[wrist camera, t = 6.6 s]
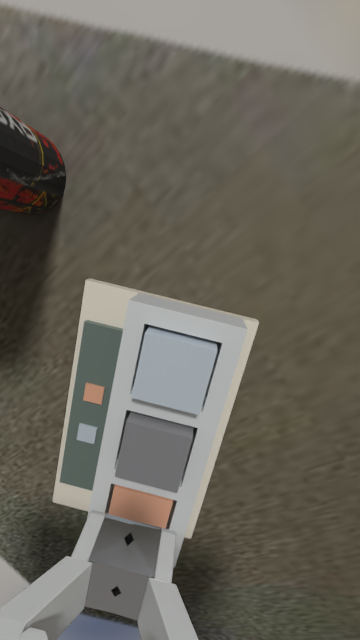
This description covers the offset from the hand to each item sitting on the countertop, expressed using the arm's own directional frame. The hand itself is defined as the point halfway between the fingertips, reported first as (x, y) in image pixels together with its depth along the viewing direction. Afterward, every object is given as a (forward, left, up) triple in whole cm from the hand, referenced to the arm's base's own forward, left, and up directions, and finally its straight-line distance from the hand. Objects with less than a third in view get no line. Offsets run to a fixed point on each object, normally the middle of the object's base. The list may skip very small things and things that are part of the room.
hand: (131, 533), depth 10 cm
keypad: (+1, +6, -16) cm, 17 cm away
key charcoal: (0, +6, -13) cm, 15 cm away
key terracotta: (0, +13, -15) cm, 20 cm away
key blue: (0, -1, -14) cm, 14 cm away
